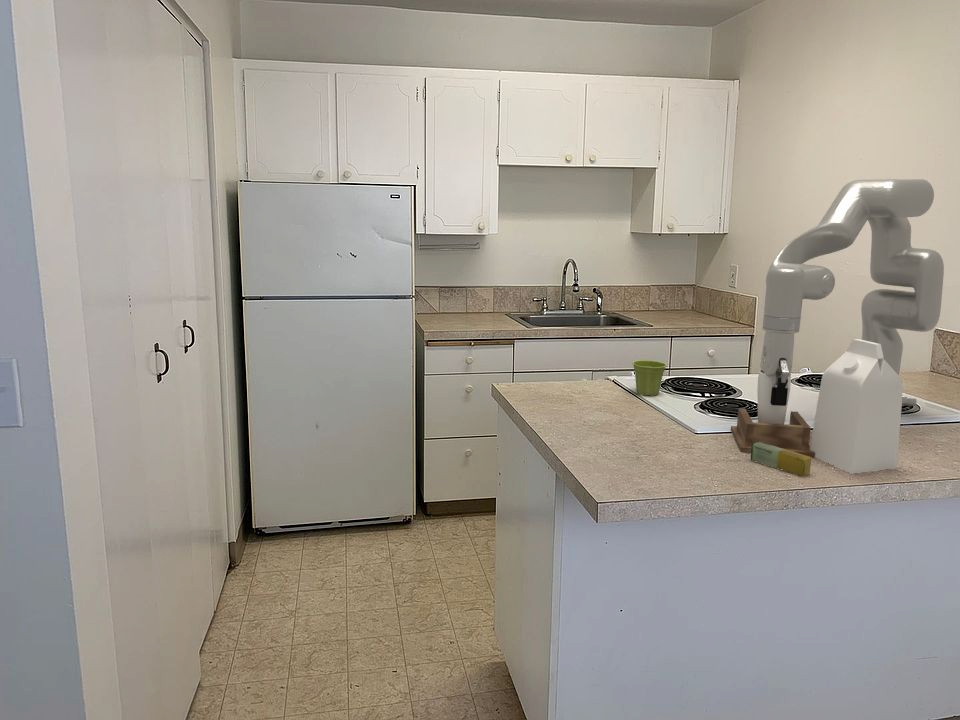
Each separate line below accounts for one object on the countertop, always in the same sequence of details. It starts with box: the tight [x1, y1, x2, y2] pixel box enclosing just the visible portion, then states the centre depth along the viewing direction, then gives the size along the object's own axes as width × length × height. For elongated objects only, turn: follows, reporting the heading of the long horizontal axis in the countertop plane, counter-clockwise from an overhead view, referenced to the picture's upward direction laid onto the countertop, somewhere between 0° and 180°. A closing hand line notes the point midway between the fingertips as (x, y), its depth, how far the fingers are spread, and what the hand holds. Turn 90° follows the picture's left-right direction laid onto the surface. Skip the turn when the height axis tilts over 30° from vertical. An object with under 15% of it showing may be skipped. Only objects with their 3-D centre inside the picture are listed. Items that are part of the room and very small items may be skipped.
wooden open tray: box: [730, 407, 815, 458], centre depth 162 cm, size 15×16×6 cm
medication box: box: [750, 441, 812, 477], centre depth 147 cm, size 12×3×4 cm, turn 37°
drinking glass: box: [756, 369, 792, 424], centre depth 162 cm, size 7×7×15 cm
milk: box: [809, 338, 904, 475], centre depth 149 cm, size 12×12×26 cm
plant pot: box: [631, 359, 667, 397], centre depth 203 cm, size 9×9×9 cm
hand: (773, 399), depth 162 cm, fingers open, 9 cm apart
